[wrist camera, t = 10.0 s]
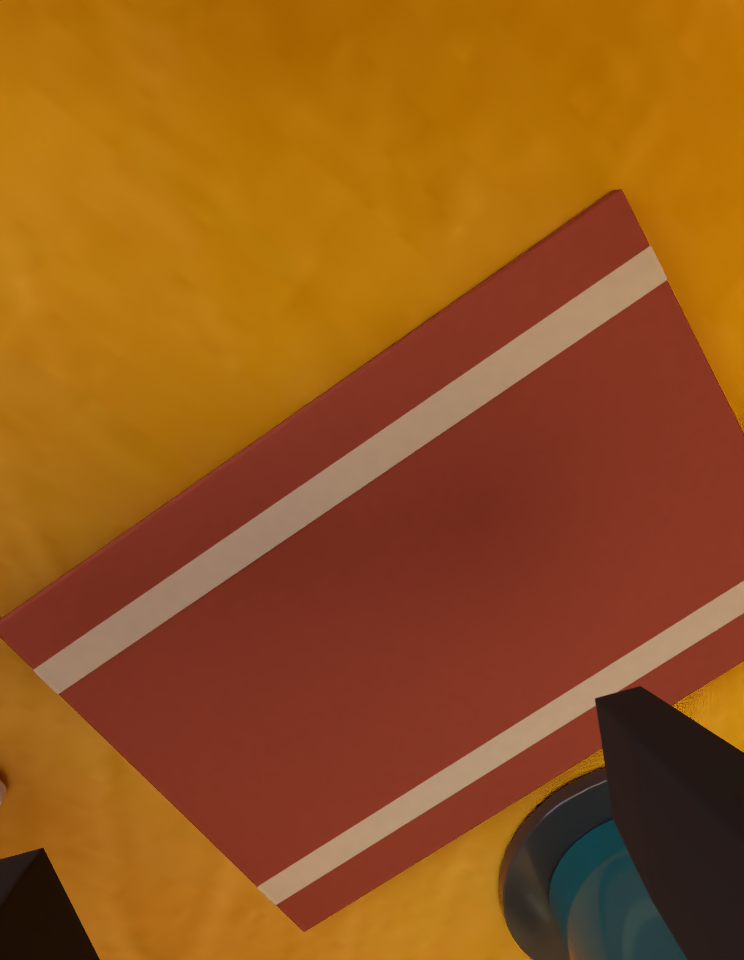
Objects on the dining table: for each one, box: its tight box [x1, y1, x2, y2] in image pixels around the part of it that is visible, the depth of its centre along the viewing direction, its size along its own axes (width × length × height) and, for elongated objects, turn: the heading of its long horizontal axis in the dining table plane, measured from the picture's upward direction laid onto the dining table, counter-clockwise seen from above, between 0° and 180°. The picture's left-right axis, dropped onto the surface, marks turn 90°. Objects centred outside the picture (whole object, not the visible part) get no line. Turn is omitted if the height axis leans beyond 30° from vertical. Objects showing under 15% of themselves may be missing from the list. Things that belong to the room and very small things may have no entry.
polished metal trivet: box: [499, 768, 613, 960], centre depth 22 cm, size 8×8×1 cm
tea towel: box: [0, 189, 744, 932], centre depth 19 cm, size 18×13×1 cm
